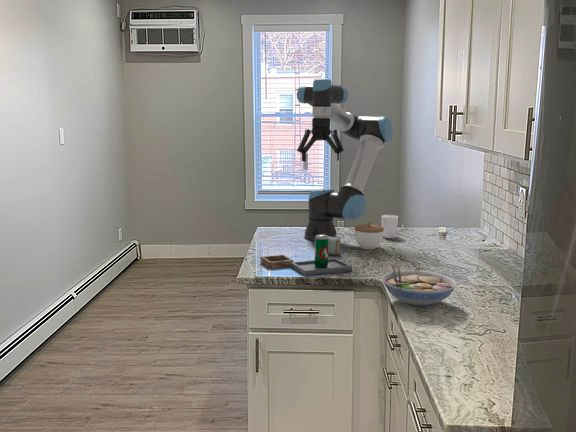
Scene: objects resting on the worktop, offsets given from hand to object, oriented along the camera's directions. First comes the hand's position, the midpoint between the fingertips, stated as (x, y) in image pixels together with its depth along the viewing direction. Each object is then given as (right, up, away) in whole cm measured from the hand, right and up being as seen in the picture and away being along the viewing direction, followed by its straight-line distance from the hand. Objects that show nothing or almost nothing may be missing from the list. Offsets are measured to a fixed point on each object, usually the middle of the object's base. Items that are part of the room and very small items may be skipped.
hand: (320, 169), depth 245 cm
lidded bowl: (+22, -34, +12) cm, 42 cm away
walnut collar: (-18, -38, -19) cm, 46 cm away
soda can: (-1, -39, -25) cm, 46 cm away
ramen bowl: (+27, -47, -62) cm, 82 cm away
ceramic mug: (+4, -35, +1) cm, 36 cm away
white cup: (+35, -30, +35) cm, 58 cm away
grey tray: (-1, -40, -25) cm, 47 cm away
